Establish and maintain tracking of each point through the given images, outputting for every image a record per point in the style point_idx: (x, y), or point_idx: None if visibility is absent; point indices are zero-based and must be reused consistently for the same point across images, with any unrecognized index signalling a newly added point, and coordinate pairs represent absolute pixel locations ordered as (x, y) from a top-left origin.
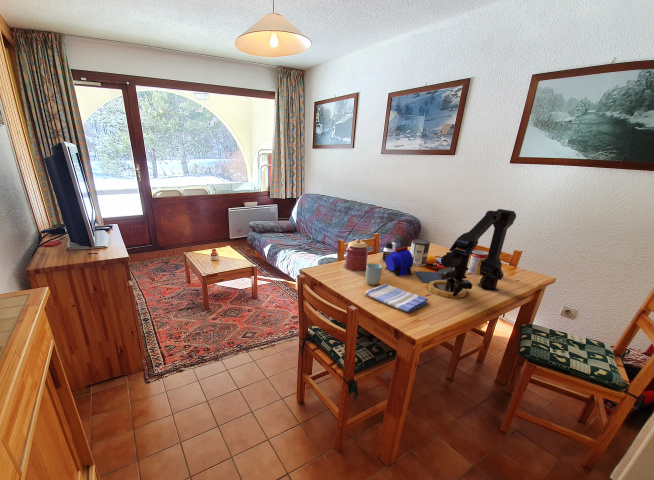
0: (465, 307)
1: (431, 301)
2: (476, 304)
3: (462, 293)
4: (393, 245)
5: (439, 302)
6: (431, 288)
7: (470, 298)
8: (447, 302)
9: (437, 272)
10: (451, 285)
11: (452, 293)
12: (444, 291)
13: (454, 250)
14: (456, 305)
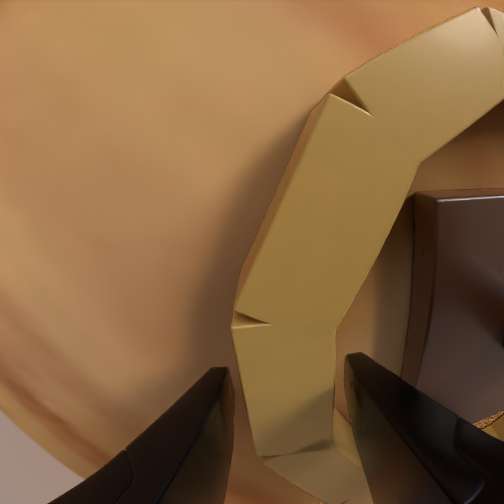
0: (18, 378)
1: (30, 7)
2: None
3: (297, 486)
4: None
5: (11, 101)
6: (479, 21)
7: (276, 489)
8: (34, 215)
9: None
10: (419, 480)
11: (257, 382)
12: (349, 234)
13: None
14: (9, 309)
